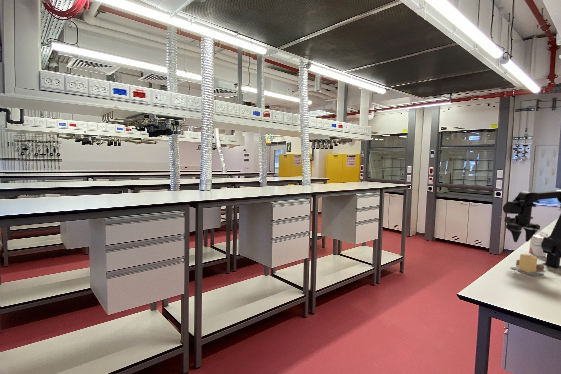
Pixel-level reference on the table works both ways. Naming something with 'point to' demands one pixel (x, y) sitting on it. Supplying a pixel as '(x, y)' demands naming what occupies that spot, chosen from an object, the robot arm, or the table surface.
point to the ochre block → (527, 263)
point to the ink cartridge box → (537, 244)
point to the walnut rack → (538, 266)
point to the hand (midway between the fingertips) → (521, 241)
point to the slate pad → (527, 272)
